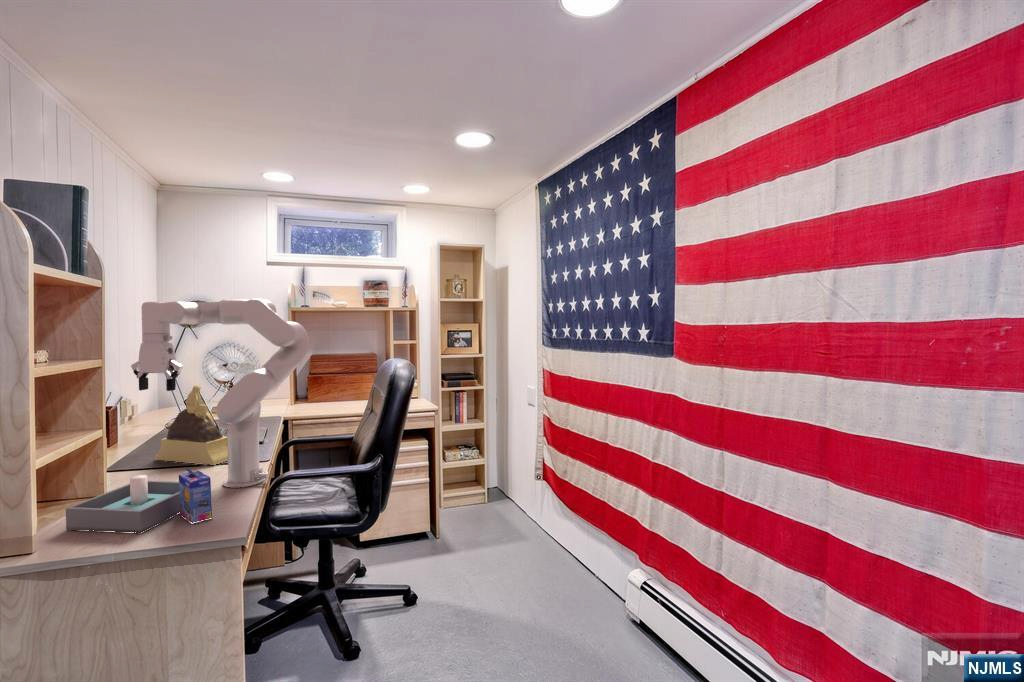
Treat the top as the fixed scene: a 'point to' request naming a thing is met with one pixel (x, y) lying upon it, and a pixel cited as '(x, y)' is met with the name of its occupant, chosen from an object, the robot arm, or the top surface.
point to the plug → (138, 490)
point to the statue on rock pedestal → (194, 436)
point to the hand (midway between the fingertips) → (157, 390)
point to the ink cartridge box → (195, 496)
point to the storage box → (125, 509)
